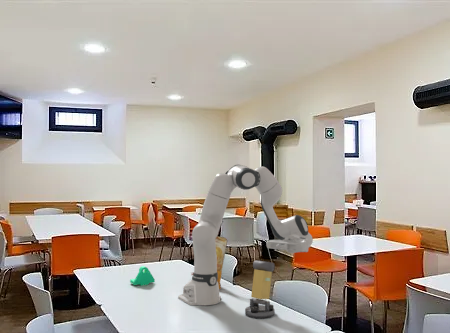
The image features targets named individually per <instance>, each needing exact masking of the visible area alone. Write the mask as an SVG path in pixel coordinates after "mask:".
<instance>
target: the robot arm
mask: <svg viewBox="0 0 450 333" xmlns="http://www.w3.org/2000/svg"><path fill="white" fill-rule="evenodd" d="M235 188H238V189H242V190H250V189H253V188H256V190H257V192H258V193H259V195H260V197H261V199H260V206H261V209H262V211H263V213H264V215H265V217H266V219H267V222H268V223H269V225H270V229H271V231H272V234H273V236H274V237H275V238H276V239H269V240H267V241H266V248H267V249H273V250H282V251H286V252H287V253H289V254H295V253H308V252H309V248H310V247H311V246H312V244H313V241H314V240H313V236H312V234H311V233H310V232H309V225H308V223H307V220H306V219H305V218H304V217H303V216H301V215H299V214H296V215H293V216H289V217H287V218H284V219H279V218H278V215H277V214H276V212H275V210H274V205H276V204H277V203H278V201H279V200H280V198H281V197H282V196H283V188H282V185H281V183H280V182H279V180H278V179H277V178H276V177H275V175H274V174H273V173H272V172H271V171H270V170H269V169H268V168H267V167H265V166H258V167H256V168H254V169H253V168H250V167H248V166H246V165H242V164H235V165H233V166H231V167H230V168H228V170H227V171H226V172H224V173H222V172H221V173H217V174H216V175H215V177H214V178H213V179H212V182H211V183H210V186H209V188H208V190H207V193H206V196H205V199H204V203H203V206H202V209H201V214H200V217H199V221H198V223H197V224H196V225H195V226H194V227H193V229H192V233H191V238H192V249H193V256H194V257H193V258H194V259H193V260H194V262H193V266H194V268H193V272H192V273H190V276H192V277H191V279H190V281H188V282H187V283H185V285H184V286H183V292H182V294H179V295H178V299H179V300H181V302H182V301H183V302H185V304H188V305H189V306H212V305H216V304H219V303H221V298H222V297H221V295H220V289H219V285H218V282H217V280H218V272H217V255H216V244H215V239H216V237H217V236H218V235H219V232H220V228H221V226H222V223H223V218H224V215H225V212H226V209H227V207H228V203H229V201H230V199H231V198H230V197H231V194H232V192H233V191H234V189H235Z"/></svg>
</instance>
